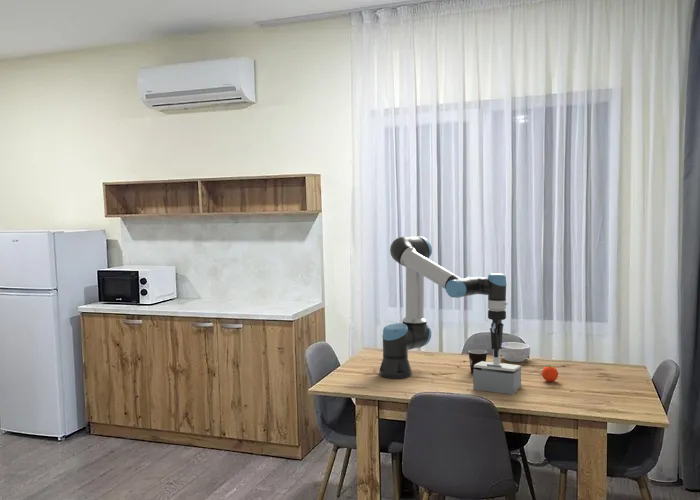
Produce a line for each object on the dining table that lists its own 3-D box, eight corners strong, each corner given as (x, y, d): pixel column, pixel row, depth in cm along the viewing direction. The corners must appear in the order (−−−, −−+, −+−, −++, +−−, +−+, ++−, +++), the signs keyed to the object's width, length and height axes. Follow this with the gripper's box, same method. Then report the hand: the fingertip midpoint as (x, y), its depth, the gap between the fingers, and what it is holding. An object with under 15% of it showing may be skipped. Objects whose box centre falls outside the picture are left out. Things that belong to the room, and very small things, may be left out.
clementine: (547, 378, 283) (547, 362, 283) (562, 380, 278) (562, 365, 278) (539, 381, 277) (539, 365, 277) (553, 384, 272) (553, 368, 272)
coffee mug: (487, 375, 289) (487, 354, 288) (468, 374, 291) (468, 353, 290) (486, 369, 300) (486, 348, 300) (468, 368, 302) (468, 348, 301)
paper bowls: (533, 363, 310) (533, 348, 310) (503, 363, 310) (503, 348, 310) (525, 356, 325) (525, 341, 325) (496, 356, 326) (496, 341, 325)
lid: (473, 367, 266) (473, 362, 266) (481, 363, 276) (481, 359, 276) (514, 371, 258) (514, 367, 258) (520, 367, 268) (520, 363, 268)
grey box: (473, 389, 266) (473, 367, 265) (482, 381, 278) (482, 360, 277) (513, 394, 258) (513, 371, 257) (521, 386, 270) (521, 364, 269)
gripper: (501, 312, 257) (501, 368, 259) (509, 308, 269) (509, 361, 270) (484, 311, 261) (483, 366, 262) (492, 307, 272) (492, 360, 274)
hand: (496, 364), depth 266 cm, fingers closed
